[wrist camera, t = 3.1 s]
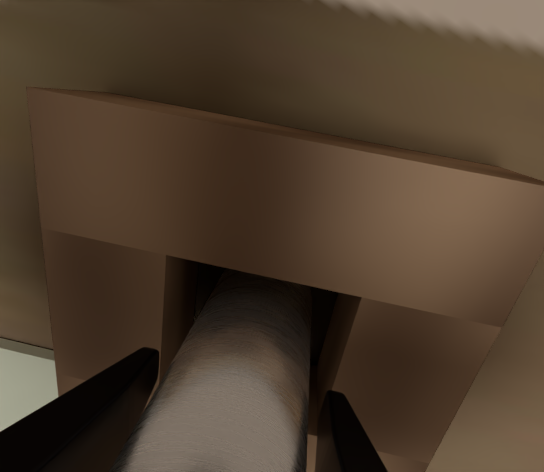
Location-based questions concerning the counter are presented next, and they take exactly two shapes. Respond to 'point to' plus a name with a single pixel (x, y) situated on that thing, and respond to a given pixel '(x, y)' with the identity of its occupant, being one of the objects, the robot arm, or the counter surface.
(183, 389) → the metal peg
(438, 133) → the counter surface
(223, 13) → the counter surface
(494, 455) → the counter surface
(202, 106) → the counter surface
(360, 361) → the walnut block
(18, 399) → the sage mat
